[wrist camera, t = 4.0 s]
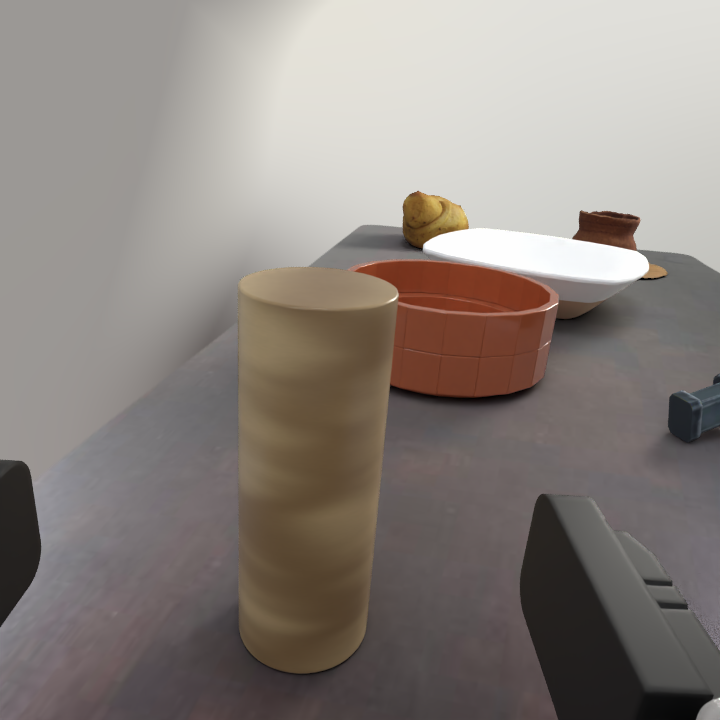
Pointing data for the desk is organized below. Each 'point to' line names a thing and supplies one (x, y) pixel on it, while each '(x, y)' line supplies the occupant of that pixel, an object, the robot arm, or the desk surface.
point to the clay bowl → (466, 327)
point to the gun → (694, 411)
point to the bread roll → (430, 218)
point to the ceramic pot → (612, 233)
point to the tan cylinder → (310, 458)
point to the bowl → (546, 263)
